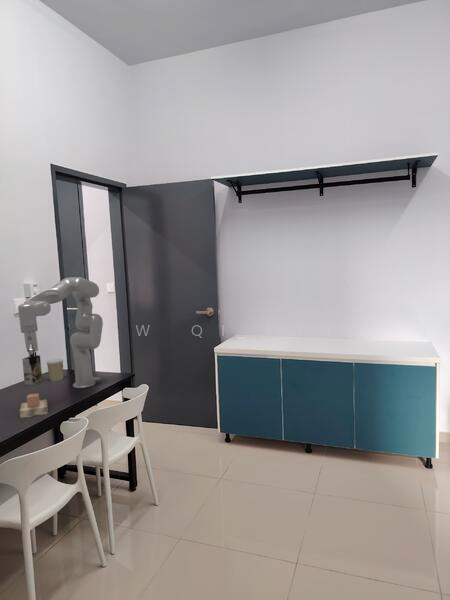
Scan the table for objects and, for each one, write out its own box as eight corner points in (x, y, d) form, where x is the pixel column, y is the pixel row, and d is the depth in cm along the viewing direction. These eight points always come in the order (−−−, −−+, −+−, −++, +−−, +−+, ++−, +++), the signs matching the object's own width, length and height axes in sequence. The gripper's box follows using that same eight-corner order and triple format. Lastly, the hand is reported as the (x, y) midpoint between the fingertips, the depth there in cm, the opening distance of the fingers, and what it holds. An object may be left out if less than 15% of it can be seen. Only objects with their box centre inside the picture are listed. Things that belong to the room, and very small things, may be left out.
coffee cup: (67, 378, 265) (65, 359, 264) (53, 382, 258) (51, 363, 257) (59, 376, 271) (58, 357, 270) (45, 380, 264) (43, 361, 263)
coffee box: (34, 385, 255) (31, 358, 253) (24, 385, 256) (21, 358, 254) (43, 380, 264) (40, 355, 262) (33, 380, 265) (31, 355, 263)
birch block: (47, 406, 218) (46, 399, 218) (47, 414, 207) (46, 406, 207) (21, 411, 214) (21, 403, 213) (20, 419, 202) (19, 411, 202)
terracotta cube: (39, 402, 213) (38, 393, 212) (38, 406, 208) (37, 396, 207) (28, 404, 211) (27, 394, 211) (27, 407, 206) (26, 397, 206)
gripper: (37, 330, 204) (41, 365, 206) (37, 324, 220) (41, 356, 222) (20, 332, 201) (24, 367, 204) (21, 326, 217) (25, 359, 219)
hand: (33, 362), depth 213 cm, fingers open, 9 cm apart
